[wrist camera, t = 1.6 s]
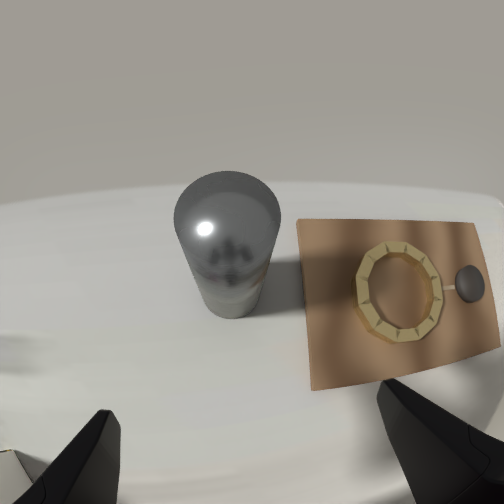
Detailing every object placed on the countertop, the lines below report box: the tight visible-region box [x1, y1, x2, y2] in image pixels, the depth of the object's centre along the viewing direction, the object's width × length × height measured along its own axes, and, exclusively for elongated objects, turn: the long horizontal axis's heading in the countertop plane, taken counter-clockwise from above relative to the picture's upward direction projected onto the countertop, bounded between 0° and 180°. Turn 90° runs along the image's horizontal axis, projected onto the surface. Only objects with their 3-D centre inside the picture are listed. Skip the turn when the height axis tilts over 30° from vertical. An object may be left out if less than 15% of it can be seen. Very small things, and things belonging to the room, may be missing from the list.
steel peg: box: [174, 171, 281, 319], centre depth 18 cm, size 4×4×12 cm
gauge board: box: [296, 219, 501, 391], centre depth 23 cm, size 21×14×2 cm, turn 93°
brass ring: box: [350, 241, 443, 344], centre depth 23 cm, size 8×8×1 cm
